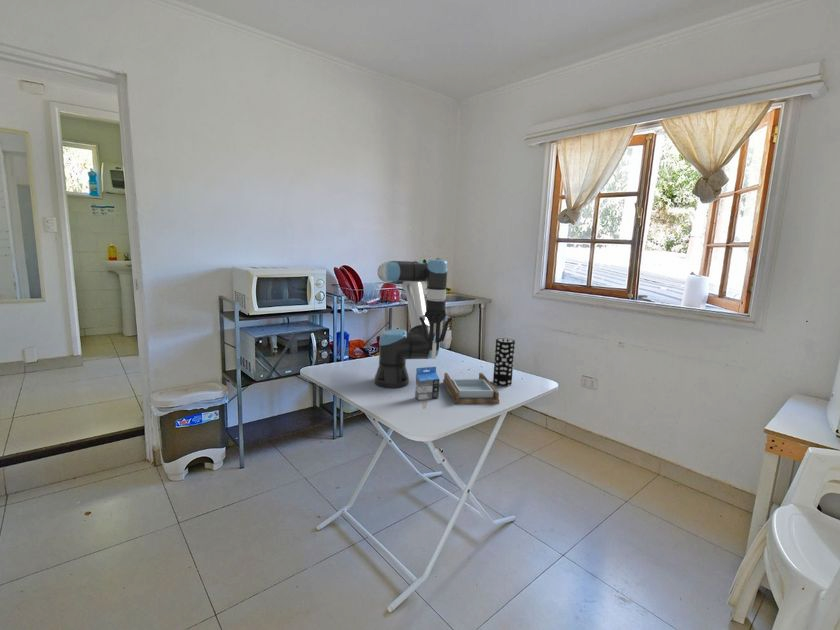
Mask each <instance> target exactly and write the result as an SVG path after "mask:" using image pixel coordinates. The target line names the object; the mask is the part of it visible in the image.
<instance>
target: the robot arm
mask: <svg viewBox="0 0 840 630" xmlns="http://www.w3.org/2000/svg"><path fill="white" fill-rule="evenodd" d="M377 275H378V278H379V279H380V280H381V281H382V282H384V283H387V284H391V285H401V287H402V289H403V290H404V291H405V294H406V300H407V301H406V302H407V308H408V315H409V322H410V329H409V330H408V331H407V330H406V329H403V328H392V329H388V330H384V331H383V332H382V333H380V336H379V341H378V345H379V354H378V355H379V356H378V357H379V359H378V367H377V370H376V373H375V376H374V384H375V385H377V386H378V385H379V387H381V386H382V388H387V389H390V388H391V389H396V388H403V387H405V386H407V385H409V383H410V377H409V372H408V369H407V366H406V364H407V363H406V360H429V359H432V360H436V359H437V356H439V352H440V347H441V342H444V341H445V338H446V334H447V331H448V327H449V325H450V322H451V321H452V318H451V317H450V316H448V315H447V313H446V299H447V282H448V281H447V280H448V279H447V278H448V261H447V260H444V259H429V260H428V261H427V262H426V263H425V262H422V261H417V260H414V261H409V260H407V261H406V260H404V261H403V260H390V261H386V262H383V263H381V264H380V265H379V266H378V268H377ZM426 284H427V285H426ZM425 286H426V297H425V291H424V288H425ZM426 299H427V300H426ZM443 320H444V323H443V327H442V330H441V323H442V322H443ZM434 326H435V329H434Z"/></svg>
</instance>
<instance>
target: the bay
mask: <svg viewBox="0 0 840 630" xmlns="http://www.w3.org/2000/svg"><path fill="white" fill-rule="evenodd" d="M443 375H444V376H443V379H442V380H443V381H442V382H443V383H442V384H443V385H444V386H445V389H446V391H447V392H448V395H449V394H450V395H449V396H450V398H451V400H452V402H453V404H454V405H475V404H476V405H481V404H482V405H484V404H485V405H486V404H488V405H491V404H494V405H495V404H500V397H499V396H500V392H499V391H498V390H497V389H496V388H495V386H494V385H493V384H492V382H490V380H489V379H488V378H487V377H486V375H484V373H483V372H479V373H478V379H484V380H485V381H486V382H487V383H488V385H489V386H490V387H491V388H492V389H493V391H494V394H493V398H459V392H458V390H457V389H456V387H455V385H454V384H453V382H452V378H451V377H450V375H449V374H448V372H444V374H443Z"/></svg>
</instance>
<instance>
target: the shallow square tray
mask: <svg viewBox="0 0 840 630" xmlns="http://www.w3.org/2000/svg"><path fill="white" fill-rule="evenodd" d="M451 379H452V378H451ZM452 382H453V384H454V385H455V387H456V389H457V390H458V392H459V398H493V394H494V391H493V389H492V388H491V387H490V386H489V385H488V383H487V382H486V381H485V380H484V379H479V378H453V379H452Z"/></svg>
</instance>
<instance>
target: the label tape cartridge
mask: <svg viewBox="0 0 840 630" xmlns="http://www.w3.org/2000/svg"><path fill="white" fill-rule="evenodd" d="M415 373H416V374H415V388H414V390H415V392H414V398H415V399H416V400H417V399H418V400H420V401H427V400H436V399H437V398H438V399H439V397H440V396H439V395H440V393H439V392H440V378H439V375H438V374H437V366H431V367H430V366H428V367H426V366H425V367H417V368H416V372H415ZM438 399H437V400H438ZM418 400H417V401H418Z"/></svg>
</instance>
